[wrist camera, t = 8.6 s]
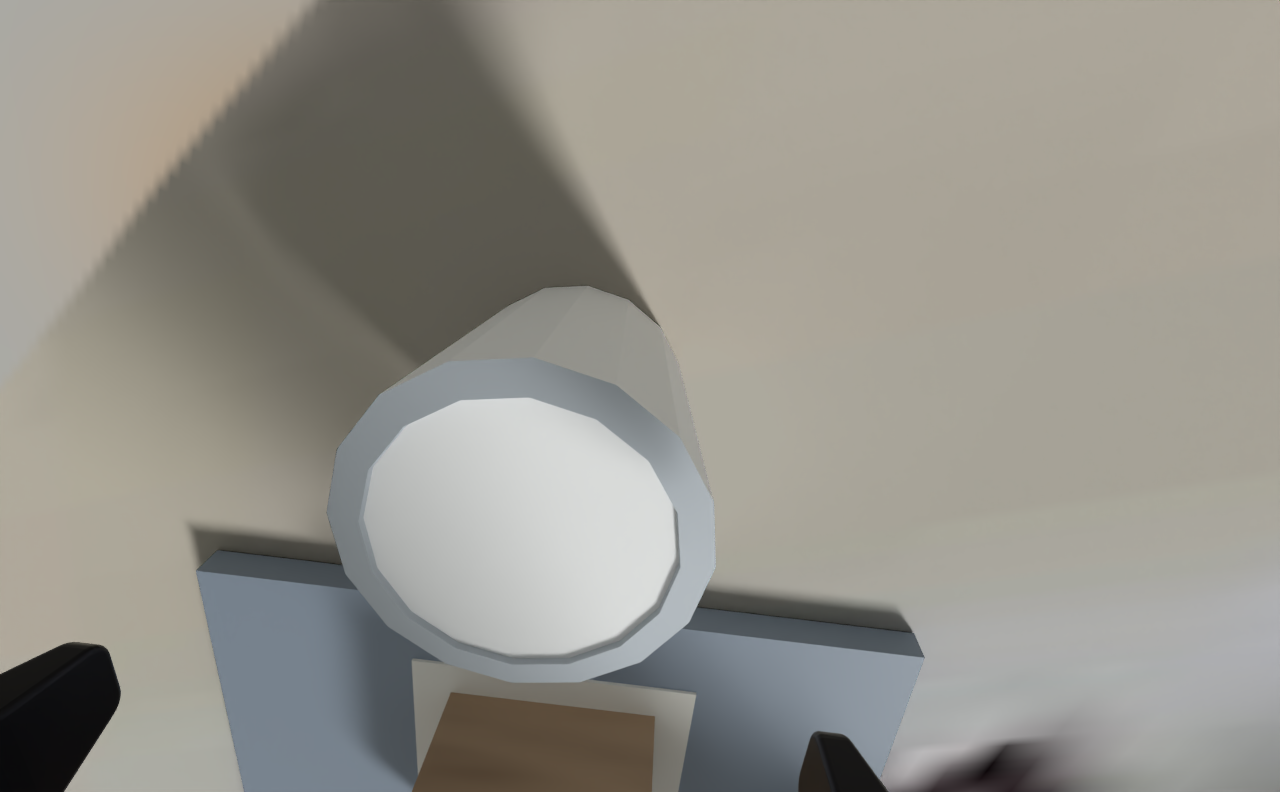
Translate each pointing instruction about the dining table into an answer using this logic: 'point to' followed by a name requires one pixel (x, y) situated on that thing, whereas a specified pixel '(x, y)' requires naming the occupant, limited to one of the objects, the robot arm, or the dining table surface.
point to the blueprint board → (531, 688)
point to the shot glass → (532, 494)
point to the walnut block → (536, 748)
